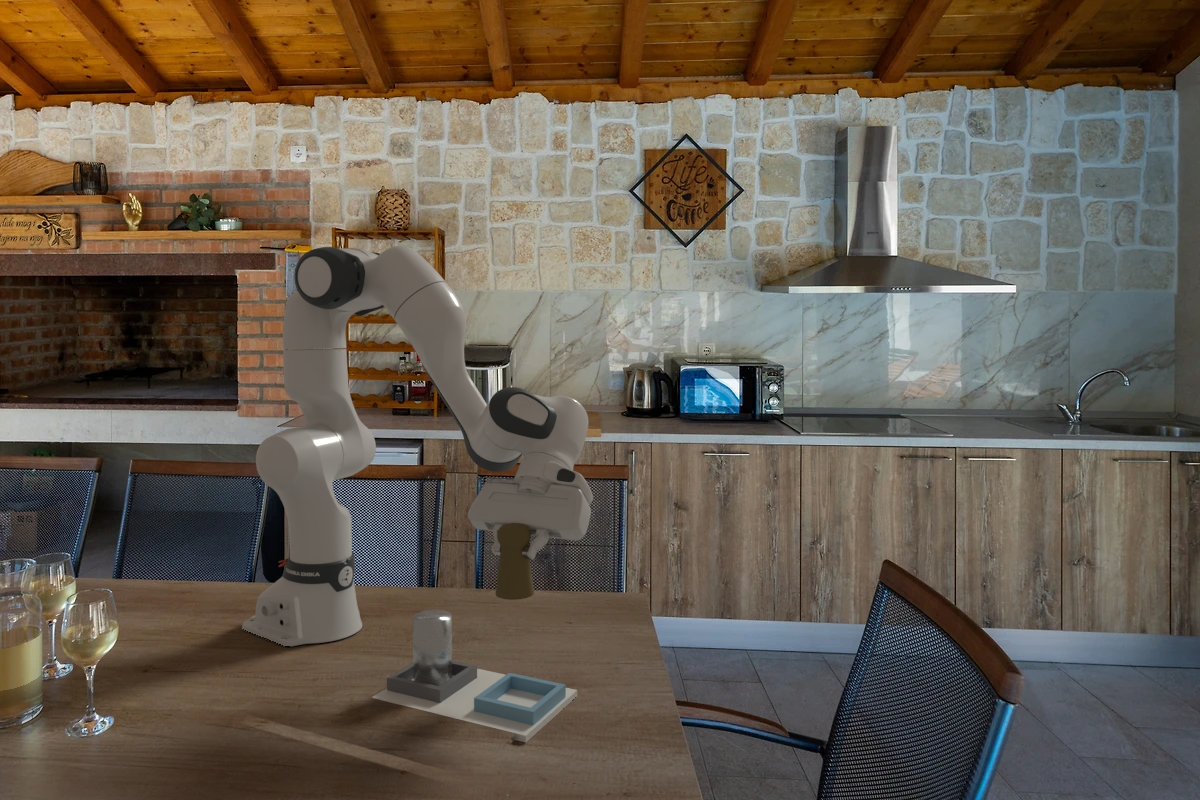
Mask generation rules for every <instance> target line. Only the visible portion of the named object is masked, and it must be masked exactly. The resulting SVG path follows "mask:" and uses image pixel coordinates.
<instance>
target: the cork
mask: <svg viewBox="0 0 1200 800" xmlns="http://www.w3.org/2000/svg"><path fill="white" fill-rule="evenodd" d="M531 536H532V535H531V532H530V529H529V528H528V526H527V525H525V524H520V523H510V524H505V525H502V526H501V527H500V528H499V530H498V533H497V539H498V542H499V544H500V545H501V551H500V555H499V562H498V570H497V578H496V587H495V597H498V598H500V599H503V600H509V601H510V600H515V601H516V600H523V599H527V598H530V597H532V596H534V594H535V589H534V582H533V575H532V567H531V559H526V558H525V557H524V556H523V555H522V551H523V550H524V546H526V544H530V541H531Z"/></svg>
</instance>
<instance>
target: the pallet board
mask: <svg viewBox="0 0 1200 800" xmlns="http://www.w3.org/2000/svg"><path fill="white" fill-rule="evenodd" d="M566 685H567V684H564V683H560V682H555V681H550V680H545V679H541V678H537V677H531V676H527V675H522V674H518V673H512V672H508V673H506V674H504V673H499V672H495V671H491V670H490V671H489V670H486V669H480V668H478V665H476V664H471V663H466V662H461V661H457V660H453V659H452V678H451V679H449V680H448V681H446V682H445V683H443V684H442V685H440V686H435V685H431V684H426V683H422V682H418V681H413V662H412V663H410V664H408V665H406V666H405V667H403V668H401V669H400V670H398V671H396V672H395V673H393V674H391V675H389V676H387V677H386V688H385V689H383V690H381V691H380V692H378V693H377V694H375V695H373V696H371V699H376V700H380V701H383V702H387V703H390V704H391V703H392V704H395V705H399V706H403V707H408V708H412V709H415V710H420V711H422V712H426V713H427V712H428V713H432V714H436V715H440V716H445V717H448V718H451V719H456V720H460V721H464V722H468V723H471V724H476V725H479V726H480V725H481V726H484V727H488V728H492V729H497V730H500V731H503V732H508V733H512V734H514V735H513V736H512V737H511V738H510V740H514V741H517V742H522V743H528V741H529V740H531V739H532V738H534V736H535V735H536V734H537V733H538V732H540V730H542V729H543V728H544V727H546V725H548V724H549V723H550V722H551V721H552V720H553V719H554V718H555V717H557V715H558V714H559V713H561V712H562V711H563V710H564V709H565V708H566V707H567V706H568V705H569V704H570V703H571V702H573V701H574V700H575V699H576V698H577V697H578V690H577V689H573V688H569V687H566ZM575 697H576V698H575ZM573 699H574V700H573ZM572 700H573V701H572ZM563 708H564V709H563Z"/></svg>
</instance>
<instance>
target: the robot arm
mask: <svg viewBox="0 0 1200 800" xmlns="http://www.w3.org/2000/svg"><path fill="white" fill-rule="evenodd" d="M293 274H294V275H293V276H294V285H295V288H296V291H295V292H293V293H291V295H290V296H289V297H288V298H287V300H286V303H285V307H284V315H283V317H284V318H283V325H282V360H283V381H284V382H283V385H284V390H285V391H284V392H285V393H286V395H287V397H289V398H290V399H291V400H293V401H294V402H296V403H297V404H298V406H299V408H300V409H301V412H302V414H303V417H304V421H305V426H304V425H303V426H298V427H291V428H287V429H286V428H285V429H284V430H281V431H279V432H277V433H275V434H273V435H270V436H269V437H266V438H265V439H264V440H263V441H262V442H261V443H260V444H259V446H258V447H257V448H258V449H257V450H256V455H255V466H256V471H257V473H258V476H259V477H260V479H261V480H262V482H264V484H266V485H267V486H268V487H270V488H271V489H272V490H273V491H275V492H276V494H277V495H278V497H279V499H280V501H281V502H282V503H281V504H282V505H283V508H284V510H285V513H286V518H287V523H288V541H289V546H288V547H289V556H288V557H287V558H286V559H282V560H279V561H278V563H280V564H279V565H278V568H282V567H284V569H283V573H282V576H281V577H280V578H279V579H277V580H276V581H275V582H273V584H271V585H270V586H268V587H267V588H266V589H264V591H262V592H261V593H260V595H259V596H258V598H257V600H256V605H255V615H252V616H251V617H249V618H248V619H246V620H245V621H244V622H243V623H242V625H241V630H243V629H244V630H243V631H245V630H246V631H245V632H247V631H248V632H247V633H249V632H251V633H250V634H252V633H253V635H254V634H256V635H255V636H257V635H258V636H257V637H259V636H261V637H260V638H262V637H264V638H267V639H269V640H271V641H270V642H272V641H274V642H276V643H275V644H277V643H278V644H277V645H279V644H281V645H280V646H282V645H283V646H282V647H285V646H290V647H295V646H300V645H306V644H320V643H328V642H333V641H338V640H342V639H345V638H348V637H351V636H353V635H354V634H356V633H357V632H359V631H360V630H361V629H362V627H363V622H362V620H361V616H360V615H361V614H360V610H359V607H358V601H357V600H358V599H357V595H356V587H355V581H354V580H355V578H354V577H355V573H356V568H355V567H356V566H355V564H356V560H355V553H354V552H353V540H352V539H353V538H352V537H353V535H352V533H353V532H352V530H353V529H352V516H351V513H350V511H349V510H348V509H347V508H346V507H345V506H343V505H342V504H340V503H339V501H338V499H337V498H336V496H335V495H336V494H335V492H334V491H335V490H334V487H333V483H334V481H337V480H342V479H344V478H349V477H351V476H354V475H356V474H357V473H360V472H361V471H362V470H364V469H366V468H368V466H369V465H370V464H371V463H372V462H373V460H374V459H375V456H376V451H377V444H376V443H377V442H376V440H375V436H374V434H373V433H372V431H371V430H370V429H369V428H368V427H367V426H366V425H365V424H364V423H363V422H362V421H361V418H359V416H358V413H357V411H356V408H355V406H354V403H353V401H352V397H351V392H350V391H351V390H350V387H349V386H350V385H349V373H348V355H347V354H348V353H347V337H346V336H347V335H346V333H347V331H346V329H347V323H348V321H349V319H350V318H351V316H353V315H356V316H358V317H363V316H365V315H368V314H369V313H372V312H376V311H378V310H381V309H383V308H385V309H386V310H387V312H388V313H389V315H391V317H392V318H393V320H394V322H396V324H397V325H398V327H399V328H400V330H401V331H402V333H403V334H404V335H405V337H406V338H407V340H408V342H409V343H410V345H411V346H412V347H413V350H414V351H415V353H416V354H417V356H418V359H419V361H420V363H421V364H422V367H423V369H424V370H425V372H426V374H427V376H428V378H429V380H430V381H431V383H432V385H433V386H434V388H435V390H436V392H437V393H438V394H439V396H440V398H441V400H442V401H443V403H444V405H445V406H446V408H447V409H448V411H449V412H450V414H451V415H452V418H453V419H454V420H455V422H456V424H457V425H458V427H459V429H460V430H461V434H462V437H463V441H464V445H465V449H466V452H467V454H468V456H469V458H470V459H471V460H472V462H474V463H475V464H476V465H477V466H478V467H480V468H482V469H483V470H486V471H490V472H495V473H496V472H498V473H499V472H506V471H508V470H511V469H512V468H513V467H515V466H516V465H517V464H518V462H519V461H520V459H521V457H522V459H521V461H520V464H519V466H518V468H517V471H516V474H515V476H514V478H513V479H511V478H508V479H507V478H505V479H503V478H500V477H497V478H493V479H492V480H489V481H488V482H485V483H484V484H483V485H482V487H481V490H480V491H479V493H478V494H477V496H476V498H474V501H473V502H472V504H471V506H470V507H469V509H468V513H467V516H468V517H467V518H468V520H469V521H470V523H471V524H472V526H473V527H474V528H475V529H476V530H480V531H490V532H492V534H493V535H492V536H493V540H494V541H493V544H492V546H491V552H492V554H493V555H495V556H500V551H501V545H500V544H499V542H498V539H497V533H498V530H499V528H500V527H501V526H502V525H505V524H510V523H520V524H525V525H527V526H528V528H529V529H530V532H531V536H533V537H534V536H536V537H535V538H534V539H533V540H532V541H531V542H530V543H528V544H526V546H524V550H523V551H522V555H523V556H524V557H525V558H526V559H529V560H532V561H533V560H535V557H536V555H537V553H538V552H539V551H540V550H541V549H542V548H543V547H544V546H546V545H547V544H548V542H549V539H550V538H552V539H560V540H568V541H577V542H578V541H579V540H581V539H582V538H584V537H585V535H586V533H587V530H588V527H589V524H590V519H591V515H592V510H591V506H590V505H591V504H592V502H593V500H594V495H593V491H592V490H591V488H590V485H589V484H588V481H587V480H586V479H585V478H584V476H583V475H582V474H581V473H579V472H577V471H575V470H574V466H575V464H576V462H577V461H578V460H579V458H580V456H581V453H582V451H583V449H584V445H585V442H586V438H587V434H588V430H589V416H588V413H587V410H586V409H585V407H584V406H583V405H582V403H580V402H579V401H578V400H576V399H575V398H572V397H571V396H566V395H561V394H559V395H554V396H541V395H539V394H534V393H531V392H530V391H528V390H527V389H523V388H522V387H517V386H509V387H508V386H507V387H504V388H501V389H499V390H498V391H496V392H495V393H494V394H493V395H492V397H491V399H489V401H488V402H486V401H485V399H484V397H483V395H482V394H481V392H480V391H479V389H478V388H477V386H476V384H475V383H474V382H473V380H472V378H471V376H470V375H469V373H468V370H467V367H466V361H465V341H466V340H465V339H466V333H467V315H466V312H465V310H464V308H463V305H462V303H461V301H460V299H459V298H458V296H457V294H456V293H455V292H454V291H453V289H452V288H451V287H450V285H449V284H448V283H447V282H446V281H445V279H444V278H443V277H442V275H440V274H439V272H438V271H437V269H435V268H434V267H433V266H432V265H431V263H429V261H427V260H426V259H425V258H424V257H423V256H422V255H420V254H419V253H418V252H417V251H416V250H415V249H414V248H413V247H410V246H407V245H395V246H392V247H389V248H387V249H385V250H383V251H382V252H381V253H378V252H374V251H373V252H372V251H369V250H364V249H362V248H361V249H360V248H355V247H347V248H343V247H342V248H341V247H340V248H338V247H337V248H336V247H333V246H322V247H317V248H313V249H311V250H308V251H307V252H305V253H304V254H303V255H302V256H300V258H299V259H298V261H297V263H296V266H295V269H294V273H293ZM264 638H263V639H264ZM267 639H266V640H267ZM269 640H268V641H269ZM274 642H273V643H274Z"/></svg>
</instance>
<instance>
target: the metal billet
mask: <svg viewBox="0 0 1200 800" xmlns="http://www.w3.org/2000/svg"><path fill="white" fill-rule="evenodd" d="M452 618H453V616H452V613H451V612H450V611H447V610H443V609H427V610H422V611H419V612H416V613H414V614H413V616H412V663H413V681H418V682H422V683H426V684H431V685H435V686H440V685H442V684H443V683H445V682H446V681H448V680H449V679H451V678H452V660H453V619H452Z"/></svg>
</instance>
